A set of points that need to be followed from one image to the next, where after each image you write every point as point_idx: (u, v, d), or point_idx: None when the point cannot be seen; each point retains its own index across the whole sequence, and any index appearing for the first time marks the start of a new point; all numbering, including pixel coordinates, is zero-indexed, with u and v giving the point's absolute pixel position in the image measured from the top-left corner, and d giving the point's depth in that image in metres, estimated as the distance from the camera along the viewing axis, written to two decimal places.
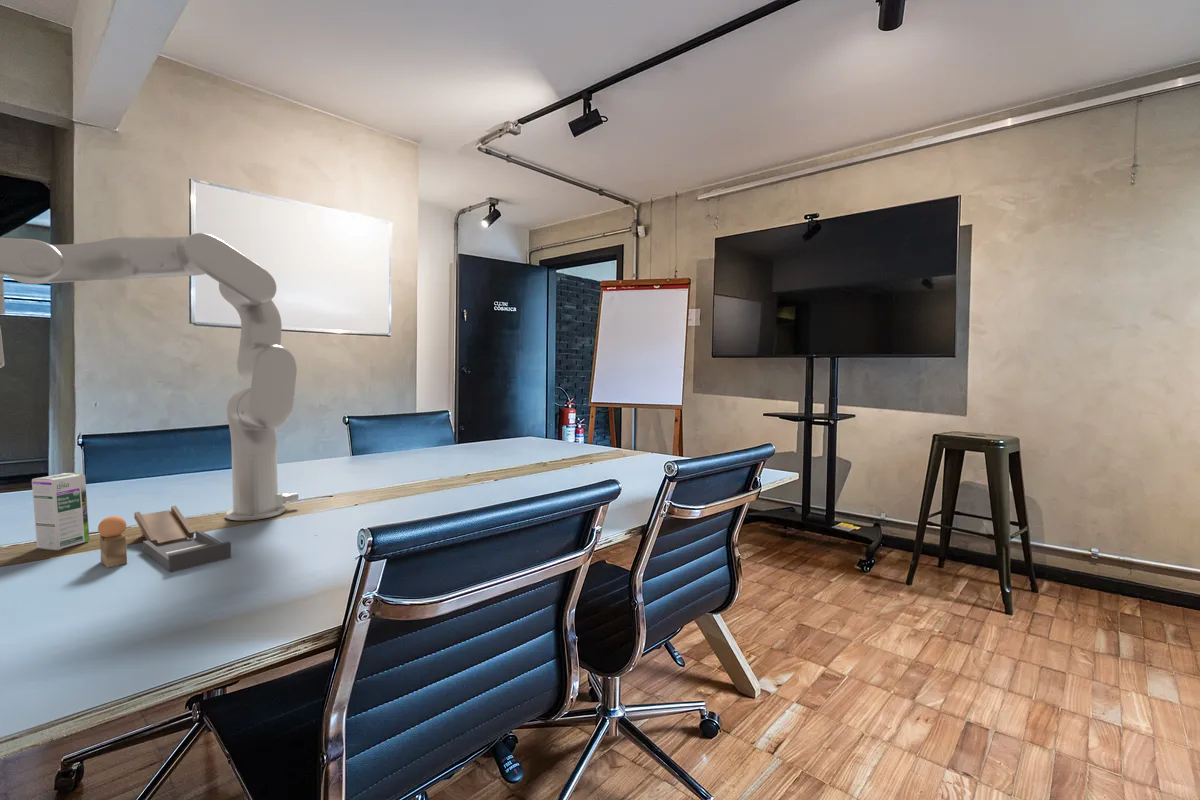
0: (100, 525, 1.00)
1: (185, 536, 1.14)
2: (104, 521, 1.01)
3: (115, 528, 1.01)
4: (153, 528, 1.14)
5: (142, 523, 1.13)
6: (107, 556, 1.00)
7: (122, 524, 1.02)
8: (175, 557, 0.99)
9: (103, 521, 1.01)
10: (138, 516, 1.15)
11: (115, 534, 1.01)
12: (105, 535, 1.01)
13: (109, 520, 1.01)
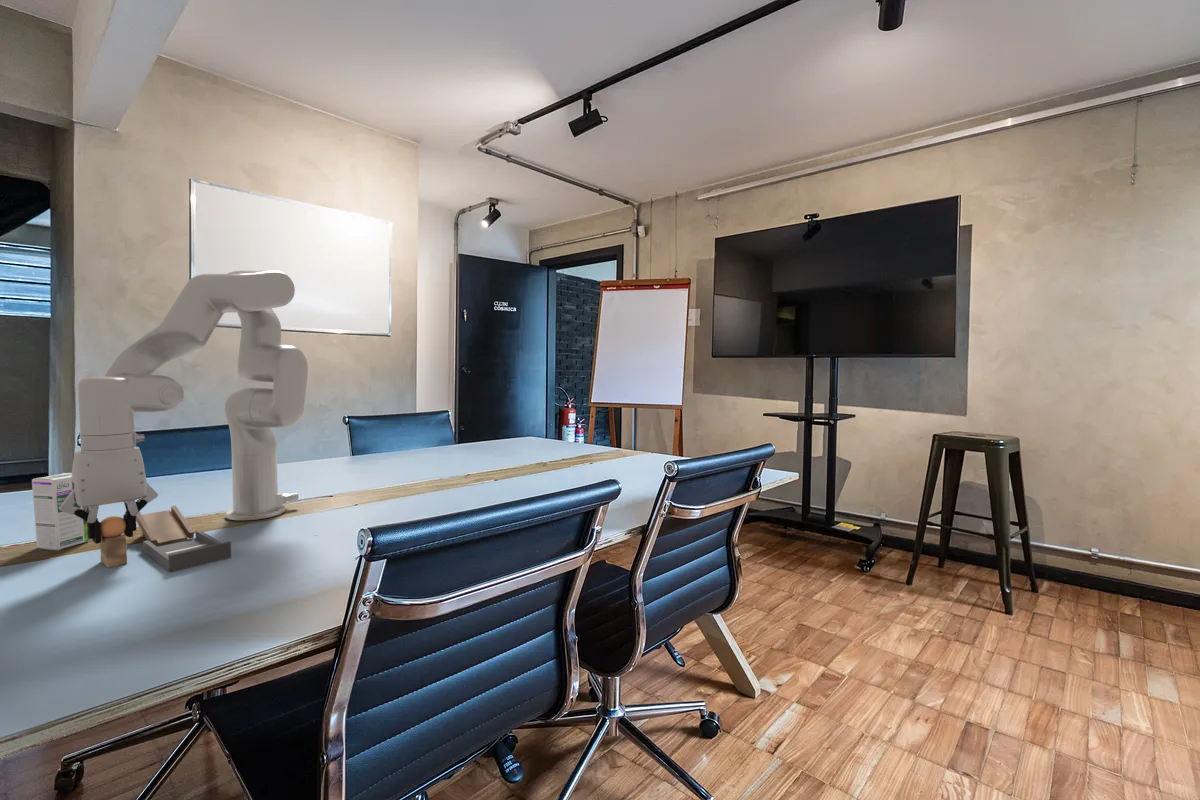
0: (100, 525, 1.00)
1: (185, 536, 1.14)
2: (104, 521, 1.01)
3: (115, 528, 1.01)
4: (153, 528, 1.14)
5: (142, 523, 1.13)
6: (107, 556, 1.00)
7: (122, 524, 1.02)
8: (175, 557, 0.99)
9: (103, 521, 1.01)
10: (138, 516, 1.15)
11: (115, 534, 1.01)
12: (105, 535, 1.01)
13: (109, 520, 1.01)
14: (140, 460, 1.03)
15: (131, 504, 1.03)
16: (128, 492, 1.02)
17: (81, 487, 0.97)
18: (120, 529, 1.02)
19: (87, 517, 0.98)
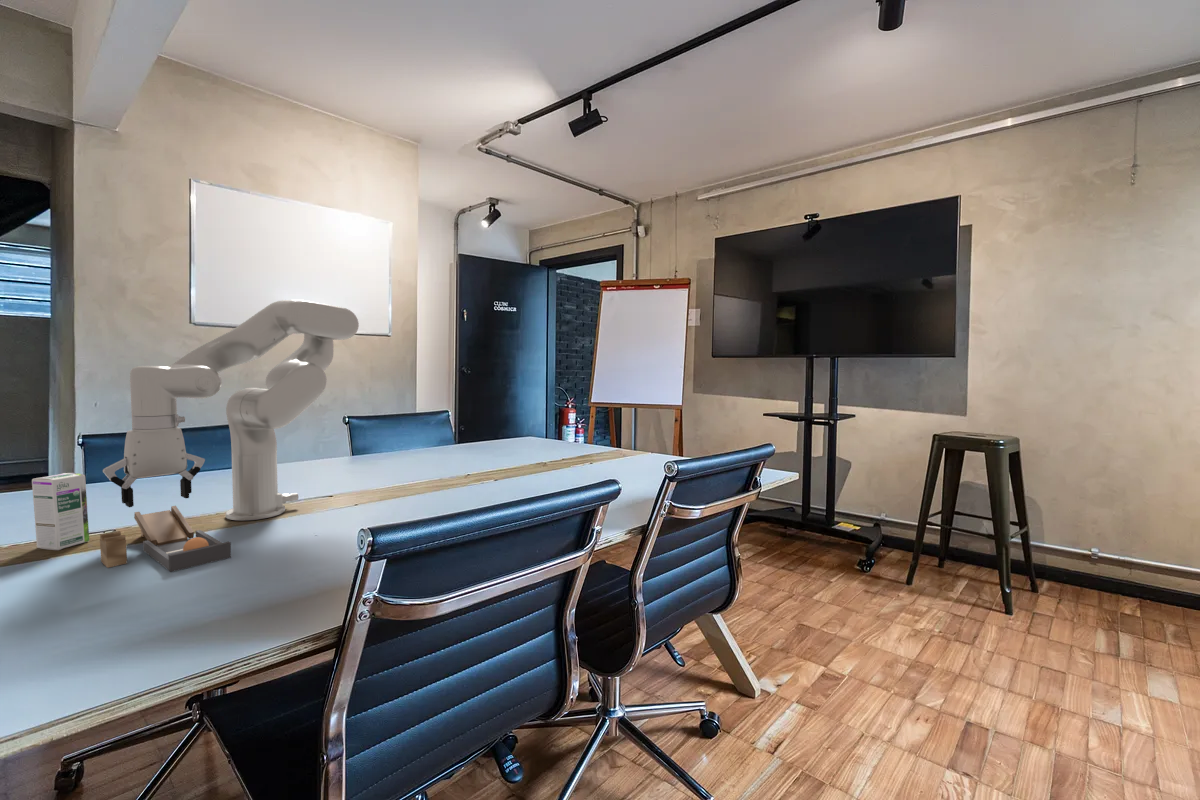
0: (185, 545, 1.03)
1: (185, 536, 1.14)
2: (188, 541, 1.03)
3: (199, 545, 1.03)
4: (153, 528, 1.14)
5: (142, 523, 1.13)
6: (107, 556, 1.00)
7: (205, 541, 1.04)
8: (175, 557, 0.99)
9: (187, 541, 1.03)
10: (138, 516, 1.15)
11: None
12: None
13: (193, 539, 1.03)
14: (181, 439, 1.19)
15: (183, 472, 1.20)
16: (172, 466, 1.17)
17: (133, 461, 1.12)
18: (204, 546, 1.04)
19: (123, 482, 1.12)
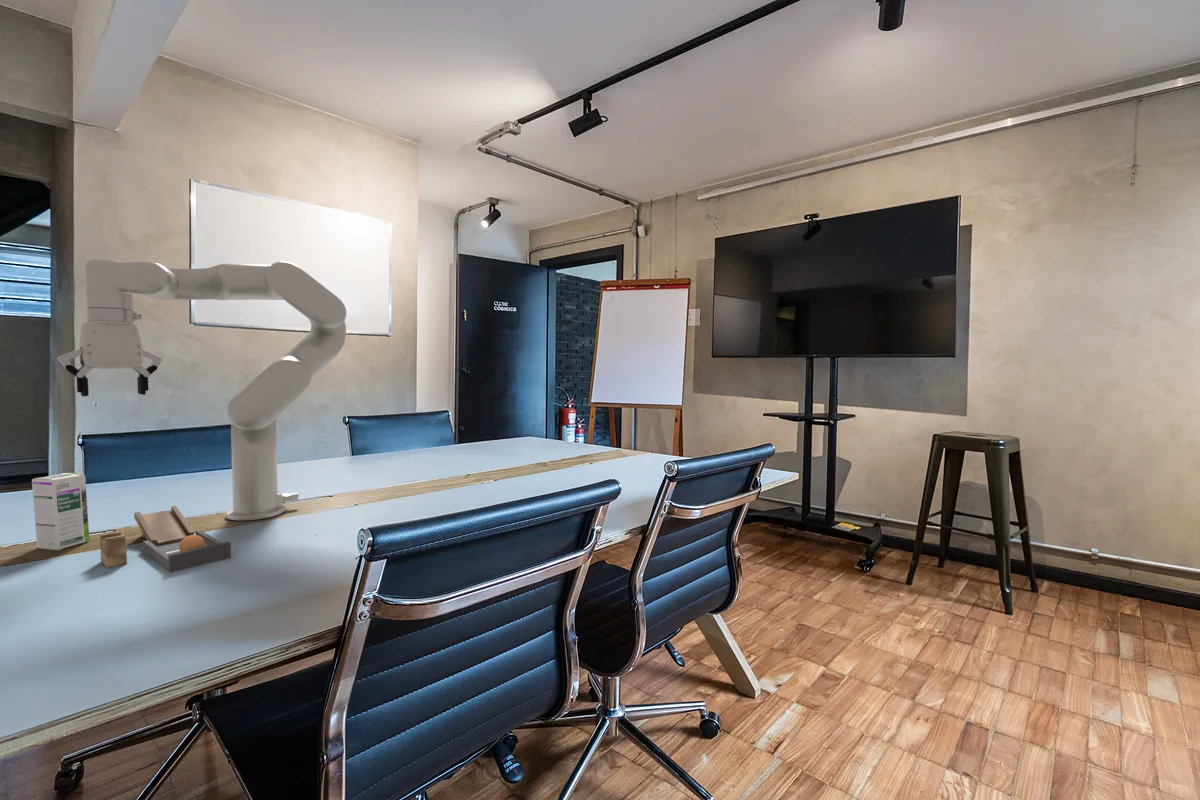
0: None
1: (185, 536, 1.14)
2: None
3: (192, 535, 1.05)
4: (153, 528, 1.14)
5: (142, 523, 1.13)
6: (107, 556, 1.00)
7: None
8: (175, 557, 0.99)
9: None
10: (138, 516, 1.15)
11: (194, 538, 1.05)
12: (186, 543, 1.04)
13: None
14: (137, 335, 1.21)
15: (140, 368, 1.22)
16: (127, 360, 1.20)
17: (88, 350, 1.15)
18: (197, 536, 1.06)
19: (78, 371, 1.15)
